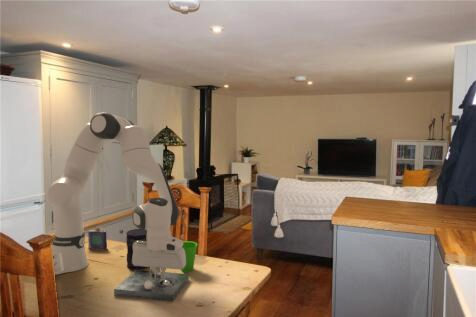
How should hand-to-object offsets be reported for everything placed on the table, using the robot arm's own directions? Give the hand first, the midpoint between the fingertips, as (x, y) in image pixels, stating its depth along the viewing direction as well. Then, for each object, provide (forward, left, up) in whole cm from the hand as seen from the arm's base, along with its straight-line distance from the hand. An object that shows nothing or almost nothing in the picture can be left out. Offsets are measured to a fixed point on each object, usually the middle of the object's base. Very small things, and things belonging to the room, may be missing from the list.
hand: (159, 278), depth 137 cm
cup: (+5, +19, -4) cm, 20 cm away
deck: (-2, 0, -4) cm, 5 cm away
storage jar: (-17, +19, -4) cm, 26 cm away
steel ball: (+3, 0, -2) cm, 4 cm away
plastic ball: (-1, -6, 0) cm, 7 cm away
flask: (-46, +35, -4) cm, 58 cm away
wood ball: (-4, +7, +1) cm, 8 cm away
